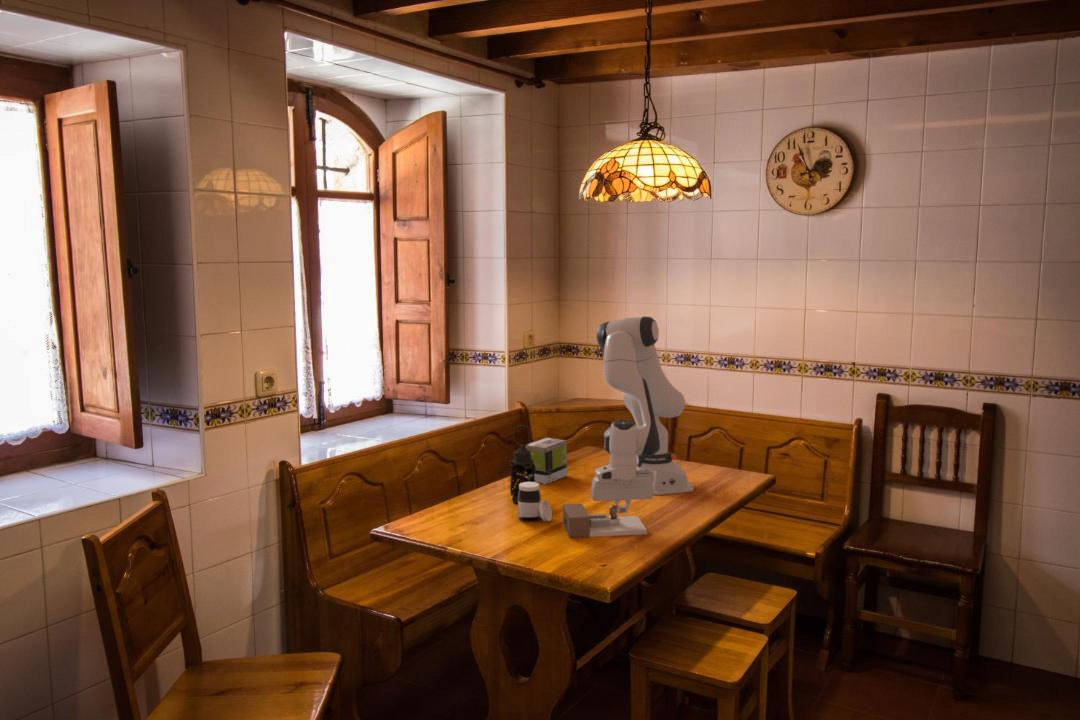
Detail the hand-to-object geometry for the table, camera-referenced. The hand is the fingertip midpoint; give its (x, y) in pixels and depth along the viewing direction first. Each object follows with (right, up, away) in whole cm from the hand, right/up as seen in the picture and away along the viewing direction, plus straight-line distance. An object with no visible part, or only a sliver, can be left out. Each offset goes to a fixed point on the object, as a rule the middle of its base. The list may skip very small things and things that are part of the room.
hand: (622, 512), depth 280 cm
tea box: (-24, +3, +59) cm, 64 cm away
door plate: (-6, -5, 0) cm, 8 cm away
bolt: (-6, -4, 0) cm, 7 cm away
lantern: (-33, -1, +30) cm, 44 cm away
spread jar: (-28, -4, +10) cm, 30 cm away
